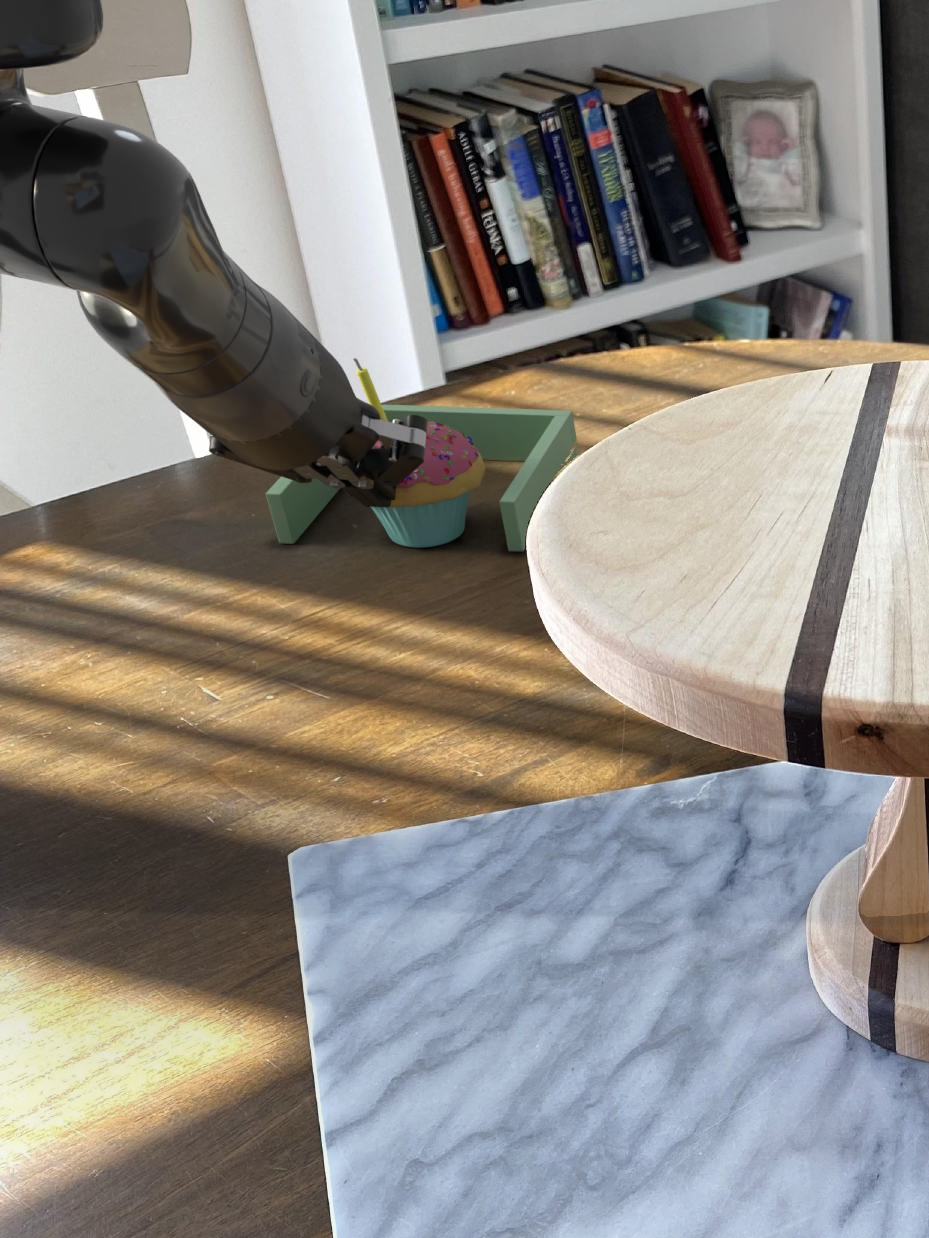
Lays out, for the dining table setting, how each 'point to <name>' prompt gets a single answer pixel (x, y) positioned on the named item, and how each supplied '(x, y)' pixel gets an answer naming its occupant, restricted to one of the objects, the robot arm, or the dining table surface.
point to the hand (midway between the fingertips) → (380, 492)
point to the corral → (496, 438)
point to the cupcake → (430, 485)
